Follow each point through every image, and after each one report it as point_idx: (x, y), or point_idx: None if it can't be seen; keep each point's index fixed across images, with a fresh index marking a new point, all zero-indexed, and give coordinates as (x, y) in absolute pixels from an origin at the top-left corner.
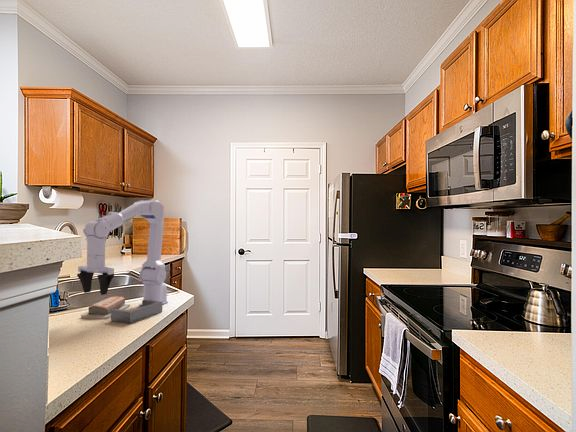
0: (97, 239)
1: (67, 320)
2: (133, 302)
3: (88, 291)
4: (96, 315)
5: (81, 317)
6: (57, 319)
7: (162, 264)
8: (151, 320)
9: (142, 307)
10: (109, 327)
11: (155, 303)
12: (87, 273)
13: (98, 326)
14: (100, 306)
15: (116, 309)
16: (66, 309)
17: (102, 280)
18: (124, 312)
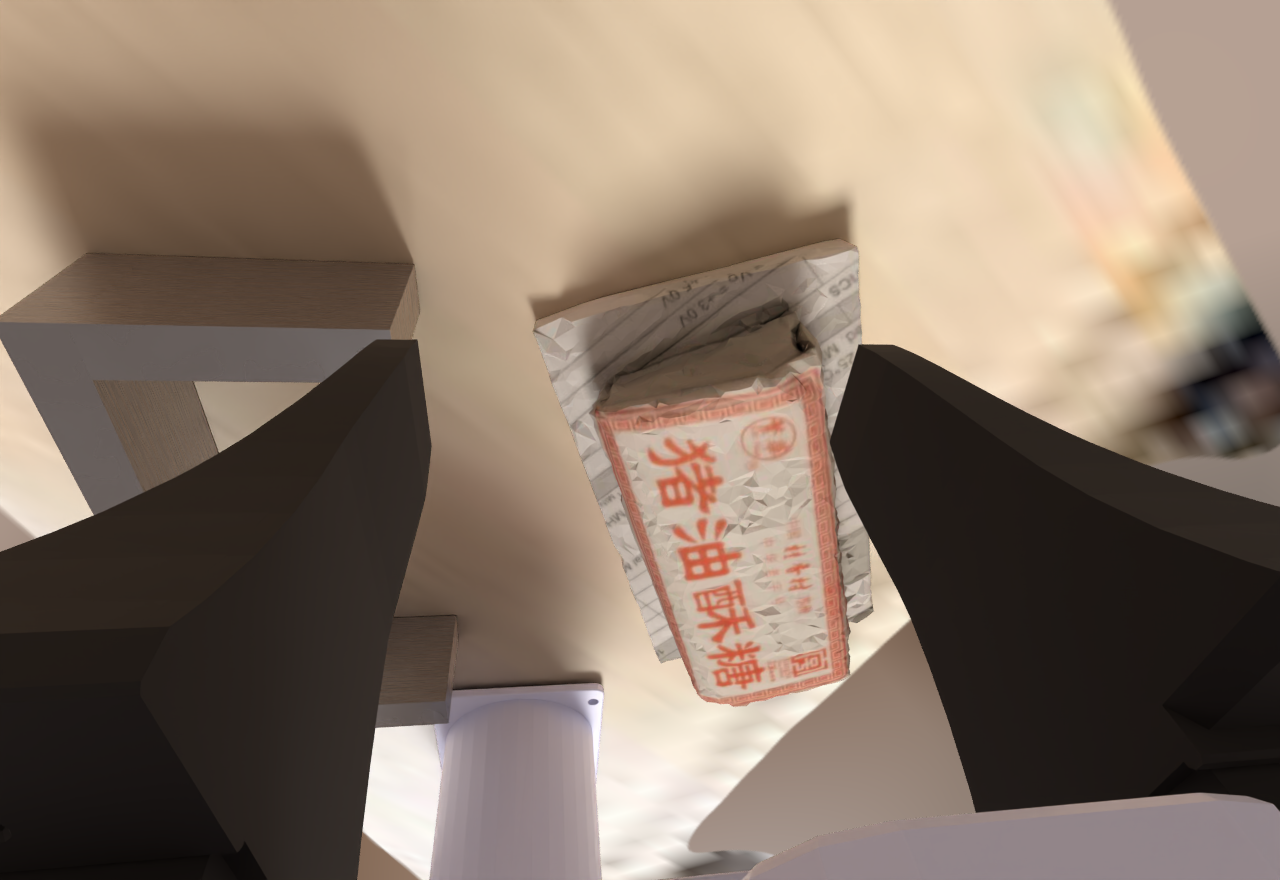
0: None
1: (945, 98)
2: (710, 714)
3: (844, 414)
4: (688, 320)
5: (841, 241)
6: (1093, 89)
7: None
8: (27, 437)
9: None
10: (155, 21)
11: None
12: (1124, 780)
13: (344, 7)
14: (681, 409)
15: (338, 368)
16: (1169, 414)
17: (37, 539)
18: (118, 317)
